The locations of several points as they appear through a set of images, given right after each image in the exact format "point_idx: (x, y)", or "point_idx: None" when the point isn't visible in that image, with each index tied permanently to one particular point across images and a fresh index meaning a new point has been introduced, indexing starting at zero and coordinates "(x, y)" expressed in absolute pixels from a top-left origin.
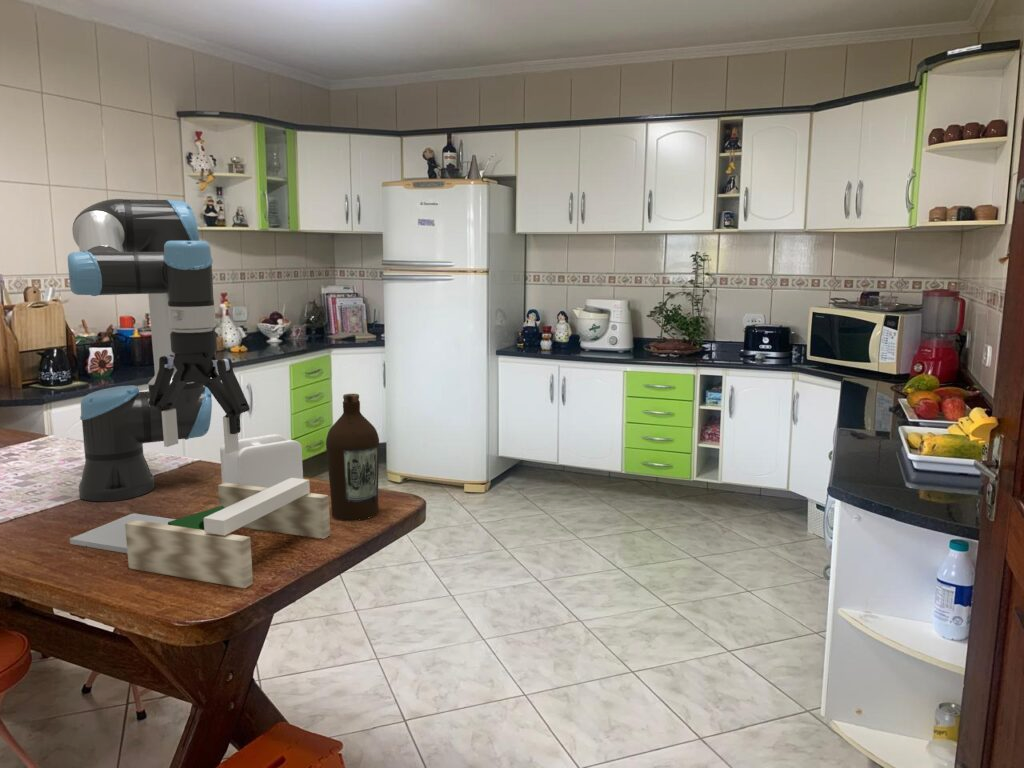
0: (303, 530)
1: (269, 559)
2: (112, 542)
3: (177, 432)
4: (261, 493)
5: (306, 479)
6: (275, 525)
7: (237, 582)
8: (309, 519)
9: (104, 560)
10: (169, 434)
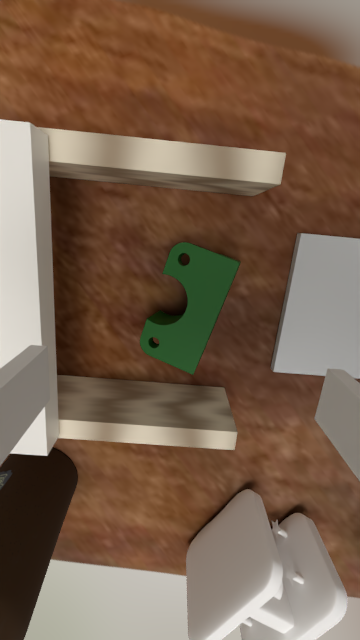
0: None
1: None
2: (348, 251)
3: (336, 448)
4: (30, 341)
5: None
6: (110, 384)
7: None
8: None
9: (322, 194)
10: (350, 408)
